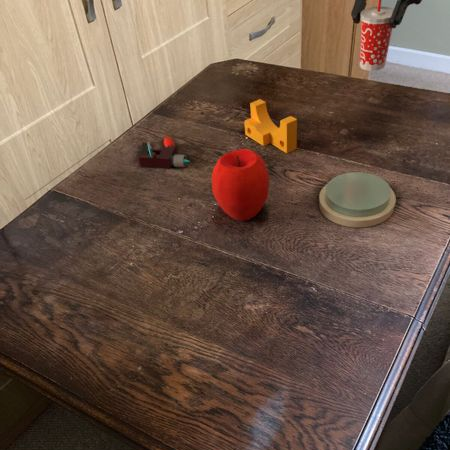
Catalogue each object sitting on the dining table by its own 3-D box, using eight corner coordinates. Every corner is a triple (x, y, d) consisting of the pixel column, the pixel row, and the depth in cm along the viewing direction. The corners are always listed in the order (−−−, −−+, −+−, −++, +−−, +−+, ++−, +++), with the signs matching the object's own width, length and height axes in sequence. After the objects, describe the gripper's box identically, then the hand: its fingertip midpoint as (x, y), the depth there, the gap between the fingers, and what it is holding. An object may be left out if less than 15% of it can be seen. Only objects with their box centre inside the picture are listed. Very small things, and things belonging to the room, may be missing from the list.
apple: (236, 191, 93) (231, 132, 84) (281, 206, 89) (280, 145, 80) (205, 220, 88) (195, 161, 79) (251, 238, 84) (246, 177, 75)
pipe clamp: (245, 134, 107) (243, 106, 102) (261, 127, 108) (260, 99, 104) (280, 156, 100) (279, 127, 95) (296, 148, 101) (297, 119, 97)
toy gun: (189, 171, 99) (185, 149, 96) (133, 169, 102) (128, 147, 98) (200, 145, 106) (197, 124, 102) (148, 144, 108) (143, 123, 105)
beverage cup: (351, 61, 94) (358, -24, 84) (383, 56, 94) (394, -29, 84) (360, 74, 90) (369, -13, 80) (393, 69, 90) (407, -18, 80)
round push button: (406, 195, 88) (409, 181, 85) (374, 236, 81) (377, 222, 79) (339, 175, 93) (341, 161, 91) (305, 213, 87) (305, 199, 85)
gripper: (457, -61, 83) (416, 39, 85) (376, -65, 89) (341, 29, 92) (454, -94, 76) (410, 17, 79) (367, -95, 83) (329, 7, 86)
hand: (373, 23), depth 85 cm, fingers closed on beverage cup, 6 cm apart
